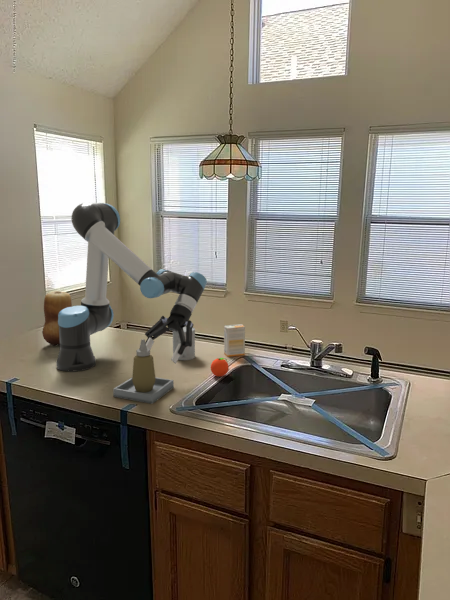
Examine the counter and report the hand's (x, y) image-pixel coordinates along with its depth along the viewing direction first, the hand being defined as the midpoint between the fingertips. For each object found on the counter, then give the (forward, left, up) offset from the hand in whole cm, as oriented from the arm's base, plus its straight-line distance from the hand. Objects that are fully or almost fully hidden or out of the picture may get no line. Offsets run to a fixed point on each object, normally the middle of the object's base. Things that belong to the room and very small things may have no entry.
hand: (158, 358), depth 164 cm
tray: (-2, -7, -10) cm, 13 cm away
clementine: (+17, +18, -11) cm, 27 cm away
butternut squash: (-67, +26, -11) cm, 73 cm away
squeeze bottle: (-2, -7, -10) cm, 12 cm away
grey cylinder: (-6, +33, -11) cm, 35 cm away
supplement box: (+13, +44, -11) cm, 47 cm away
